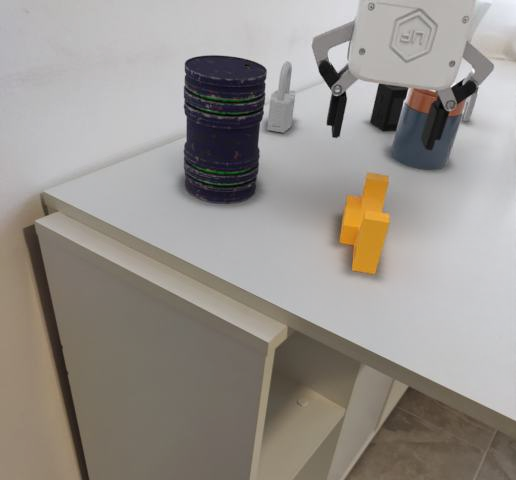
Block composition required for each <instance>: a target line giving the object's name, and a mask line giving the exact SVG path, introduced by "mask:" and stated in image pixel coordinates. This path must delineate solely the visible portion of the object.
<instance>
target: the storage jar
mask: <svg viewBox="0 0 516 480" xmlns="http://www.w3.org/2000/svg"><path fill="white" fill-rule="evenodd" d="M184 73H185V75H184V84H183V85H184V86H183V99H184V101H183V103H184V104H183V110H184V116H185V117H186V141H185V143H184V146H183V169H184V176H185V178H184V188H185V190H186V192H187V193H188V194H190V195H191V196H192V197H194V198H196V199H198V200H202V201H204V202H208V203H214V204H235V203H241V202H244V201H247V200H249V199H251V198H252V197H253V196H254V195H255V194H256V191H257V183H256V182H257V179H258V174H259V169H260V157H261V156H260V155H261V153H260V151H261V150H260V147H259V141H260V139H259V138H260V129H261V122H262V121H263V119H264V114H265V111H264V109H265V107H264V106H265V103H266V80H267V73H268V69H267V68H266V66H265V65H263V64H261V63H259V62H257V61H254V60H251V59H247V58H243V57H238V56H231V55H218V54H215V55H214V54H211V55H209V54H207V55H197V56H194V57H191V58H190V57H189V59H186V60H185V62H184Z"/></svg>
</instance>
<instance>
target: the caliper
mask: <svg viewBox="0 0 516 480" xmlns="http://www.w3.org/2000/svg"><path fill="white" fill-rule="evenodd" d="M479 89H480V87H479V86H478V87H477V88H476V91H475V92H474V93H473V94H472V95H471V96H469V97H468V98H467V101H466V104H465V107H464V110H463V111H464V114H463V117H462V120H461V121H463V122H470V119H471V117H472V114H473V111H474V107H475V105H476V102H477V98H478V92H479V91H478V90H479Z"/></svg>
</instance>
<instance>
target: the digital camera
mask: <svg viewBox="0 0 516 480" xmlns="http://www.w3.org/2000/svg"><path fill="white" fill-rule="evenodd" d="M407 91H408V87H402V86H394V85H387V84H380V83H378V85H377V89H376V94H375V98H374V103H373V108H372V112H371V115H370V120H369V121H370V122H369V123H370V124H372V125H373V126H375V127H376V128H378V129H379V130H381V131H382V132H386V131H396V128H397V124H398V120H399V117H400V113H401V109H402V105H403V101H404V100H405V99H406V95H407Z"/></svg>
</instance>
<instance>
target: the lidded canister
mask: <svg viewBox="0 0 516 480" xmlns="http://www.w3.org/2000/svg"><path fill="white" fill-rule="evenodd" d="M457 83H458V82H454V83H453V84H452V85H451V86H450V87H453V86H454V85H456V84H457ZM437 97H438V95H437V93H436V91H435V90H425V89H417V88H409V87H408V91H407V95H406V99H405V100H404V101H403V105H402V109H401V113H400V117H399V120H398V124H397V128H396V130H395V133H394V136H393V140H392V143H391V148H390V151H389V152H390V153H389V154H390V157H392V158H393V159H394V160H395V161H396V162H398V163H399V164H402V165H405V166H407V167H410V168H415V169H420V170H440V169H443V168H445V167H446V166H447V164H448V163H449V159H450V156H451V153H452V150H453V147H454V144H455V142H456V141H455V140H456V138H457V135H458V132H459V128H460V126H461V123H462V121H463V120H462V117H463V114H464V111H463V110H464V107H465V104H466V101H467V98H466V99H465V100H463V101H462V102H460V103H459V104H457V106H456V108H455V109H454V110H452V111H450V112H449V115H448V118H447V121H446V124H445V127H444V130H443V133H442V136H441V139H440V140H435V143H434V147H433V149H432V151H431V150H426V148H424V145H423V143H422V141H421V136H422V133H423V130H424V126H425V123H426V120H427V116H428V113H429V110H430V107H431V104H432V103H433V102H434V101H436V99H437Z"/></svg>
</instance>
